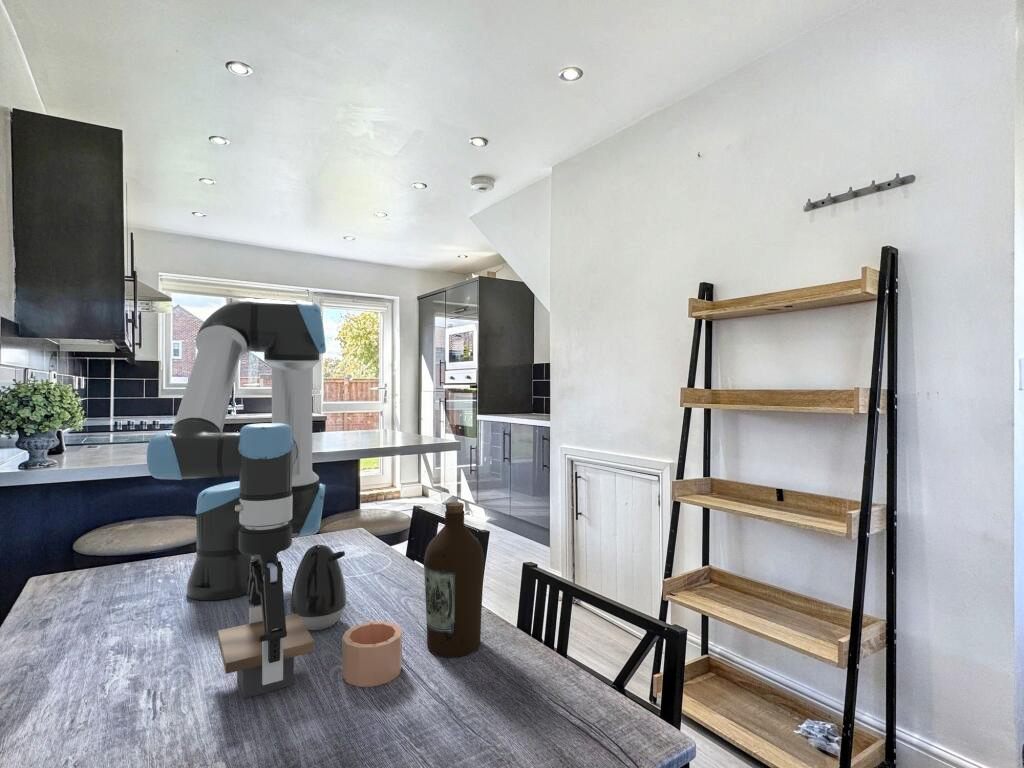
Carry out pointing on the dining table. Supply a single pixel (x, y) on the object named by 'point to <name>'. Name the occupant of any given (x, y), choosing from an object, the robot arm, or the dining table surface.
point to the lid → (246, 649)
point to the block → (253, 679)
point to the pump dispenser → (319, 588)
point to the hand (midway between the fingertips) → (265, 662)
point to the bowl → (371, 653)
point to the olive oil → (454, 587)
